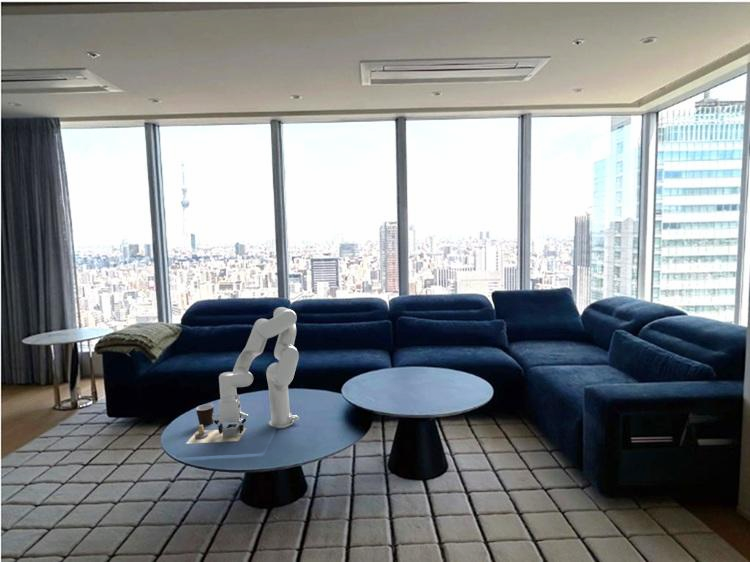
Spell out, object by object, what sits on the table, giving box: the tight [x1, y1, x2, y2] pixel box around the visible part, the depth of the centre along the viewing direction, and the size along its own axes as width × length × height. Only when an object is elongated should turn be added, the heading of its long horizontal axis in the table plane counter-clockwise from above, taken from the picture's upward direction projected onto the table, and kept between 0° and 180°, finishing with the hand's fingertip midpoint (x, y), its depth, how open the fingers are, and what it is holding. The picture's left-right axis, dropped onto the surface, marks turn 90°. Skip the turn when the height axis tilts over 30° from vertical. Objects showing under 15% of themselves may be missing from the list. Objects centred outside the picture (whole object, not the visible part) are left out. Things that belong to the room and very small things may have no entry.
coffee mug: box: [195, 403, 215, 427], centre depth 240 cm, size 12×9×10 cm
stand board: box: [185, 424, 247, 445], centre depth 223 cm, size 25×14×7 cm, turn 90°
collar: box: [222, 422, 240, 438], centre depth 223 cm, size 7×7×4 cm
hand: (231, 432), depth 223 cm, fingers open, 9 cm apart
